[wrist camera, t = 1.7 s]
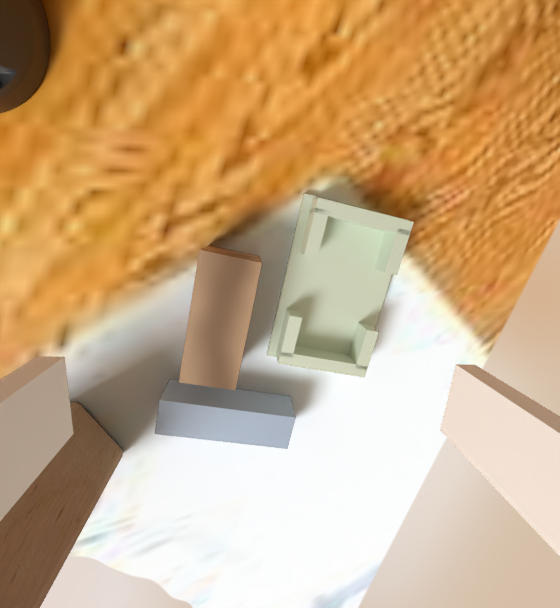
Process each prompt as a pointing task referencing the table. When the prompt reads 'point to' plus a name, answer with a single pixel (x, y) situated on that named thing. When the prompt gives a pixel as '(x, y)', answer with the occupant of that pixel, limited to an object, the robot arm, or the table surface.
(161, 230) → the table surface
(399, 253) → the jig
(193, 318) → the brown rectangular block
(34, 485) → the wooden block
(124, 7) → the table surface
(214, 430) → the blue-grey rectangular prism
